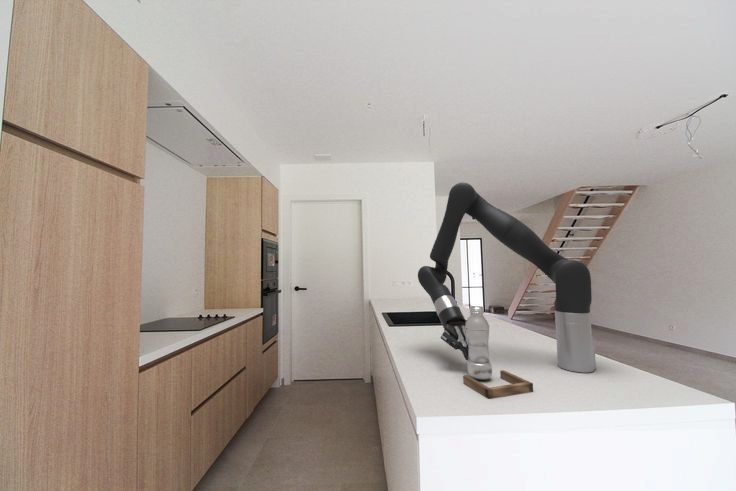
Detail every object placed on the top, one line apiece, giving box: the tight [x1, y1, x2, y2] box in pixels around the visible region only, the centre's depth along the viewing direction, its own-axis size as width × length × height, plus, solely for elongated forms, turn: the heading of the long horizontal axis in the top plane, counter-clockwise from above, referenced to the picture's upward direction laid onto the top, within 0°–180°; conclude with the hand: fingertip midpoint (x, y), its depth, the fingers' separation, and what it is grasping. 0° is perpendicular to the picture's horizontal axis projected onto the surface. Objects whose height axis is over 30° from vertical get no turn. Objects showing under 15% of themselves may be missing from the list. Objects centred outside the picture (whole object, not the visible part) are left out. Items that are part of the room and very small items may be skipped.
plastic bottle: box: [465, 305, 493, 381], centre depth 85 cm, size 6×7×20 cm
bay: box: [462, 370, 534, 399], centre depth 78 cm, size 13×10×2 cm
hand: (471, 360), depth 88 cm, fingers closed
